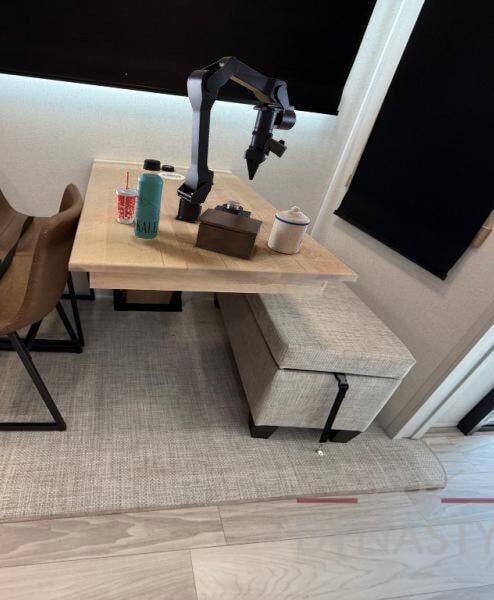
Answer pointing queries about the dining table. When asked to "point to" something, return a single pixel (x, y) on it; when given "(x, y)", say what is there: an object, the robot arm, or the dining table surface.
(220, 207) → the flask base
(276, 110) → the robot arm
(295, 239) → the teacup with lid
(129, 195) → the beverage cup
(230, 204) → the push lid
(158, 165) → the beverage bottle
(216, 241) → the box
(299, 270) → the dining table surface
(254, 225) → the lid
